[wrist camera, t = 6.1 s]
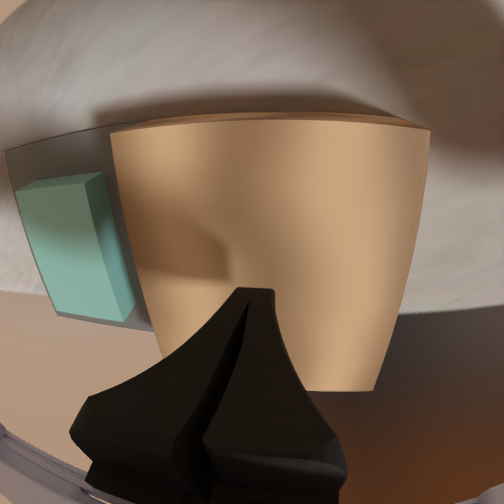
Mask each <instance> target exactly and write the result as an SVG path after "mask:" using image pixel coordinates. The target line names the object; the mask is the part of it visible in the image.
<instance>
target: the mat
mask: <svg viewBox="0 0 504 504" xmlns="http://www.w3.org/2000/svg"><path fill="white" fill-rule="evenodd" d="M146 121H149V120H146ZM146 121H139V122H132V123H125V124H119V125H113V126H107V127H102V128H97V129H91V130H86V131H82V132H77V133H72V134H68V135H63V136H59V137H55V138H51V139H47V140H43V141H39V142H35V143H31V144H28V145H24V146H21V147H17V148H14V149H10V150H7V151H5V156H6V161H7V166H8V170H9V175H10V179H11V184H12V188H13V192H14V196H15V199H16V203H17V207H18V210H19V214H20V217H21V221H22V224H23V227H24V231H25V234H26V237H27V240H28V243H29V246H30V249H31V252H32V254H33V257H34V260H35V263H36V265H37V268H38V271H39V273H40V276H41V278H42V281H43V283H44V286H45V288H46V291H47V293H48V295H49V298H50V300H51V302H52V305H53V307H54V309H55V311H56V313H57V316H63V317H67V318H73V319H78V320H83V321H88V322H94V323H99V324H105V325H111V326H118V327H123V328H130V329H136V330H144V331H150V332H154V329H153V326H152V323H151V319H150V316H149V313H148V309H147V306H146V302H145V299H144V295H143V292H142V288H141V284H140V281H139V277H138V273H137V269H136V265H135V261H134V257H133V253H132V249H131V245H130V240H129V236H128V231H127V227H126V222H125V218H124V213H123V208H122V203H121V198H120V193H119V187H118V182H117V176H116V170H115V164H114V158H113V151H112V145H111V138H110V133H113V132H115V131H118V130H121V129H124V128H127V127H130V126H133V125H136V124H139V123H143V122H146ZM95 172H105V177H106V183H107V188H108V193H109V198H110V203H111V207H112V212H113V217H114V221H115V225H116V230H117V234H118V238H119V242H120V246H121V250H122V254H123V258H124V262H125V265H126V269H127V273H128V276H129V280H130V283H131V287H132V290H133V294H134V297H135V300H136V304H135V306H134V307H133V309H132V310H131V312H130V313H129V315H128V316H127V318H126V319H125V321H124V322H119V321H113V320H106V319H100V318H94V317H88V316H82V315H77V314H71V313H66V312H61V311H57V310H56V308H55V306H54V304H53V301H52V299H51V297H50V294H49V292H48V289H47V287H46V285H45V282H44V280H43V277H42V274H41V272H40V269H39V267H38V264H37V261H36V258H35V256H34V253H33V250H32V247H31V244H30V241H29V238H28V235H27V232H26V229H25V225H24V222H23V219H22V215H21V212H20V208H19V205H18V201H17V197H16V193H15V191H17V190H19V189H21V188H23V187H24V186H26V185H28V184H30V183H32V182H33V181H36V180H42V179H49V178H56V177H63V176H70V175H78V174H86V173H95Z"/></svg>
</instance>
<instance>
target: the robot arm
mask: <svg viewBox="0 0 504 504" xmlns="http://www.w3.org/2000/svg"><path fill="white" fill-rule="evenodd" d="M69 433H70V436H71V439H72V440H73V441H74V443H76V445H77V446H78V447H79V448H80V449H81V450H82V451H83V452H84V453H85V454H86V455H87V456H88V457H89V458H90V459H91V460H92V461H93V462H92V464H91V467H90V469H89V471H88V472H86V471H83V470H81V469H79V468H76V467H74V466H72V465H70V464H68V463H66V462H64V461H61V460H59V459H57V458H55V457H53V456H51V455H49V454H48V453H46V452H44V451H42V450H40V449H38V448H36V447H35V446H33V445H31V444H29V443H27V442H26V441H24V440H22V439H20V438H19V437H17V436H16V435H14V434H12V433H11V432H9V431H7V430H6V428H5V427H4V426H3V425H2V424H1V423H0V494H2V495H3V496H4V497H5V498H7V499H8V500H9V501H10V502H12V503H13V504H105V503H103V502H101V501H99V500H97V499H95V498H93V497H91V496H89V494H90V495H92V496H94V497H96V498H99V499H101V500H104V501H106V502H109V503H111V504H338V502H339V490H340V489H341V487H342V486H343V484H344V483H345V481H346V479H347V465H346V460H345V456H344V453H343V449H342V447H341V444H340V441H339V438H338V436H337V434H336V432H335V431H334V430H333V429H332V428H331V426H330V425H329V424H328V422H327V421H326V420H325V418H324V417H323V416H322V414H321V413H320V411H319V410H318V408H317V407H316V406H315V404H314V403H313V401H312V399H311V398H310V396H309V394H308V393H307V391H306V389H305V387H304V386H303V384H302V382H301V381H300V379H299V377H298V375H297V373H296V371H295V369H294V366H293V364H292V362H291V360H290V357H289V355H288V352H287V350H286V347H285V344H284V341H283V339H282V335H281V332H280V328H279V324H278V321H277V316H276V310H275V291H274V290H273V289H271V288H251V287H237V288H236V289H235V290H234V291H233V292H232V294H231V295H230V296H229V297H228V298H227V300H226V301H225V302H224V303H223V304H222V306H221V307H220V308H219V309H218V310H217V311H216V312H215V313H214V314H213V316H212V317H211V318H210V319H209V320H208V321H207V322H206V323H205V324H204V325H203V326H202V327H201V328H200V329H199V330H198V331H197V332H196V333H195V334H194V335H193V336H192V337H190V338H189V339H188V340H187V341H186V342H185V343H184V344H182V345H181V346H180V347H179V348H178V349H176V350H175V351H174V352H172V353H171V354H170V355H168V356H167V357H166V358H164V359H163V360H161V361H160V362H158V363H157V364H155V365H154V366H152V367H151V368H149V369H147V370H146V371H144V372H142V373H141V374H139V375H137V376H135V377H133V378H131V379H129V380H127V381H125V382H123V383H121V384H119V385H117V386H115V387H112V388H110V389H107V390H105V391H102V392H100V393H98V394H95V395H92V396H89V397H88V398H87V400H86V401H85V403H84V404H83V406H82V408H81V410H80V411H79V413H78V415H77V417H76V419H75V421H74V423H73V424H72V426H71V428H70V430H69ZM456 504H504V483H503V484H500V485H498V486H495V487H493V488H491V489H489V490H487V491H486V492H484V493H482V494H481V495H480V496H479V497H478V498H475V499H471V500H467V501H464V502H460V503H456Z"/></svg>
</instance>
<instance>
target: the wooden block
mask: <svg viewBox="0 0 504 504" xmlns="http://www.w3.org/2000/svg"><path fill="white" fill-rule="evenodd" d="M430 134H431V130H429V129H426V128H424V127H421V126H419V125H416V124H414V123H411V122H409V121H406V120H404V119H401V118H396V117H387V116H377V115H365V114H352V113H336V112H310V111H258V112H231V113H214V114H201V115H189V116H179V117H170V118H161V119H153V120H149V121H146V122H143V123H139V124H136V125H133V126H130V127H127V128H124V129H121V130H118V131H115V132H113V133H110V138H111V145H112V151H113V158H114V164H115V170H116V176H117V182H118V187H119V193H120V198H121V203H122V208H123V213H124V218H125V222H126V227H127V231H128V236H129V240H130V245H131V249H132V253H133V257H134V261H135V265H136V269H137V273H138V277H139V281H140V284H141V288H142V292H143V295H144V299H145V302H146V306H147V309H148V313H149V316H150V319H151V323H152V326H153V329H154V332H155V335H156V338H157V342H158V345H159V347H160V351H161V354H162V357H163V359H164V358H166V357H167V356H168V355H170V354H171V353H172V352H174V351H175V350H176V349H178V348H179V347H180V346H181V345H182V344H184V343H185V342H186V341H187V340H188V339H189V338H190V337H192V336H193V335H194V334H195V333H196V332H197V331H198V330H199V329H200V328H201V327H202V326H203V325H204V324H205V323H206V322H207V321H208V320H209V319H210V318H211V317H212V316H213V314H214V313H215V312H216V311H217V310H218V309H219V308H220V307H221V306H222V304H223V303H224V302H225V301H226V300H227V298H228V297H229V296H230V295H231V294H232V292H233V291H234V290H235V289H236V288H237V287H251V288H271V289H273V290H274V291H275V310H276V316H277V321H278V324H279V328H280V332H281V335H282V339H283V341H284V344H285V347H286V350H287V352H288V355H289V357H290V360H291V362H292V364H293V366H294V369H295V371H296V373H297V375H298V377H299V379H300V381H301V382H302V384H303V386H304V387H305V389H306V391H308V390H309V391H372V390H373V387H374V385H375V382H376V380H377V377H378V374H379V371H380V369H381V366H382V363H383V360H384V357H385V354H386V351H387V348H388V345H389V342H390V339H391V336H392V332H393V329H394V326H395V323H396V319H397V316H398V312H399V309H400V305H401V301H402V298H403V294H404V290H405V286H406V282H407V278H408V274H409V270H410V265H411V261H412V256H413V252H414V247H415V242H416V237H417V232H418V227H419V221H420V215H421V209H422V203H423V196H424V190H425V182H426V174H427V166H428V157H429V146H430Z"/></svg>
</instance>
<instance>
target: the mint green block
mask: <svg viewBox="0 0 504 504" xmlns="http://www.w3.org/2000/svg"><path fill="white" fill-rule="evenodd" d="M15 193H16V197H17V201H18V205H19V208H20V212H21V215H22V219H23V222H24V225H25V229H26V232H27V235H28V238H29V241H30V244H31V247H32V250H33V253H34V256H35V258H36V261H37V264H38V267H39V269H40V272H41V274H42V277H43V280H44V282H45V285H46V287H47V289H48V292H49V294H50V297H51V299H52V301H53V304H54V306H55V308H56V310H57V311H61V312H66V313H71V314H77V315H82V316H88V317H94V318H100V319H106V320H113V321H119V322H124V321H125V319H126V318H127V316H128V315H129V313H130V312H131V310H132V309H133V307H134V306H135V304H136V300H135V297H134V294H133V290H132V287H131V283H130V280H129V276H128V273H127V269H126V265H125V262H124V258H123V254H122V250H121V246H120V242H119V238H118V234H117V230H116V225H115V221H114V217H113V212H112V207H111V203H110V198H109V193H108V188H107V183H106V177H105V172H95V173H86V174H78V175H70V176H63V177H56V178H49V179H42V180H36V181H33V182H32V183H30V184H28V185H26V186H24V187H23V188H21V189H19V190H17V191H15Z"/></svg>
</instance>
